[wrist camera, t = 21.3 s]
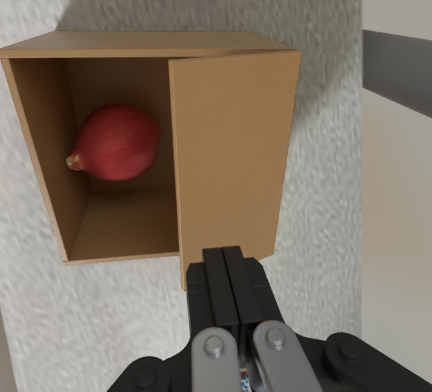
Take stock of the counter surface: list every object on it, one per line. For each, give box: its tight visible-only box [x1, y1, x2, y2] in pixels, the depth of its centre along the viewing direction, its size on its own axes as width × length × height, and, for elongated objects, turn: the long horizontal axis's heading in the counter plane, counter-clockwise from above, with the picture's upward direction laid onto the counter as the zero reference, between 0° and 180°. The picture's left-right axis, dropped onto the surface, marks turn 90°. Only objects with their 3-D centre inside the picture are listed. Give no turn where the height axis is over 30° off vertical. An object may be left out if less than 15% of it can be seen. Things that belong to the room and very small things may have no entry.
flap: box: [168, 50, 302, 292], centre depth 19 cm, size 7×14×1 cm, turn 179°
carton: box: [0, 31, 296, 266], centre depth 24 cm, size 15×14×10 cm
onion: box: [66, 104, 161, 182], centre depth 25 cm, size 6×6×8 cm
